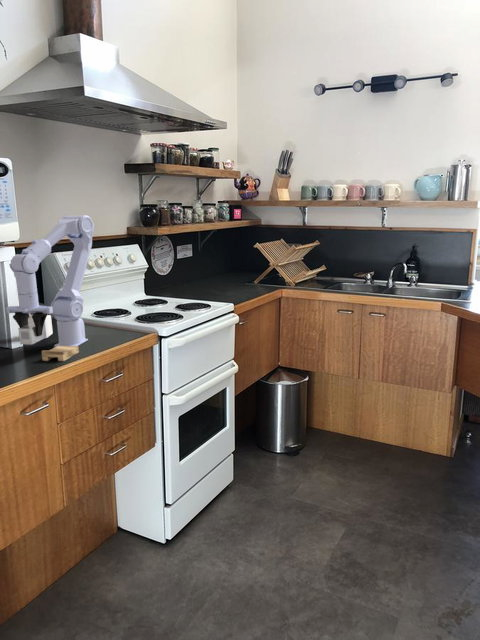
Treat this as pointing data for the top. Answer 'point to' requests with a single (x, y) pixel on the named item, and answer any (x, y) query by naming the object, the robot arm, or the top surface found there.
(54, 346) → the robot arm
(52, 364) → the top surface
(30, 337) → the housing
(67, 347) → the stand
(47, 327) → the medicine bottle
